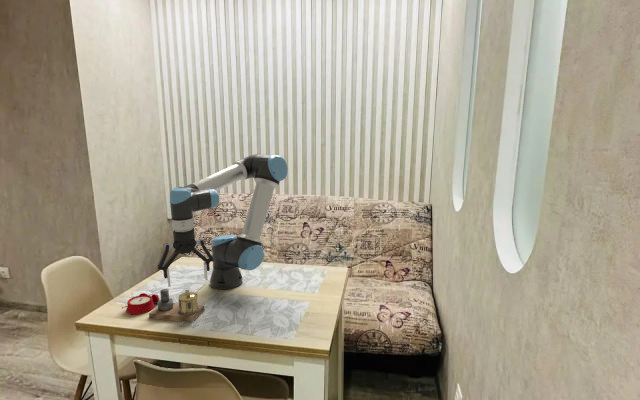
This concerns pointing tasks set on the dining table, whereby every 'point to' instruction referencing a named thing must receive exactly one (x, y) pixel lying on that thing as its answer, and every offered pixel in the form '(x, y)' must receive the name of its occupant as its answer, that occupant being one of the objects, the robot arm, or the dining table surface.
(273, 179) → the robot arm
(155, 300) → the alarm clock
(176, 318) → the post plinth
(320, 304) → the dining table surface
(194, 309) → the cap
